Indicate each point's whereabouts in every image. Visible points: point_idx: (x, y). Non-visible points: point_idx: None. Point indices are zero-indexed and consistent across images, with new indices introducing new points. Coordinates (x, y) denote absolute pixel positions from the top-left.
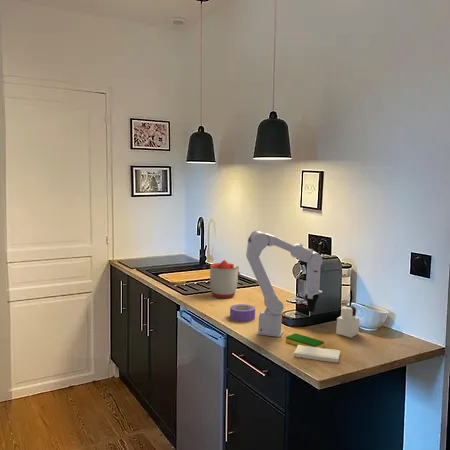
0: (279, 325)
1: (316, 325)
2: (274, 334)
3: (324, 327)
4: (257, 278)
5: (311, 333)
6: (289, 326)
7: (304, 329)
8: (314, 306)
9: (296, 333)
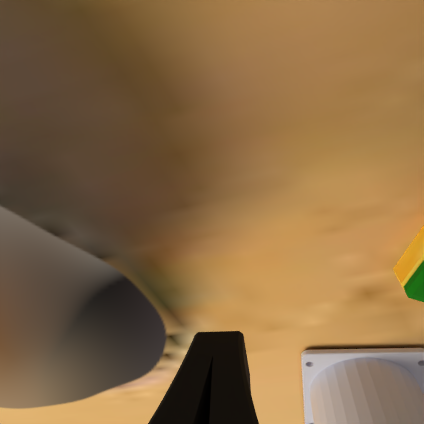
0: (416, 421)
1: (37, 209)
2: (416, 380)
3: (34, 145)
4: None
5: (241, 199)
6: (177, 339)
7: (179, 258)
8: (257, 419)
9: (410, 289)
